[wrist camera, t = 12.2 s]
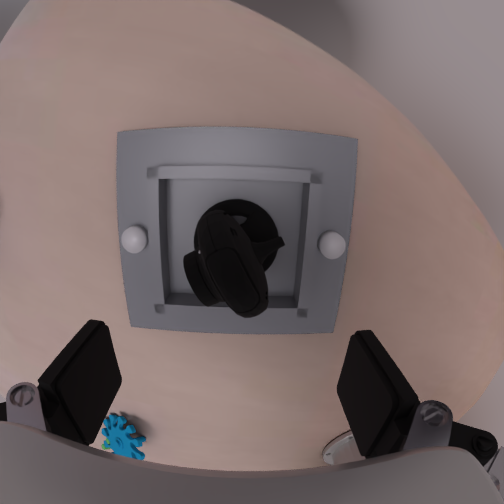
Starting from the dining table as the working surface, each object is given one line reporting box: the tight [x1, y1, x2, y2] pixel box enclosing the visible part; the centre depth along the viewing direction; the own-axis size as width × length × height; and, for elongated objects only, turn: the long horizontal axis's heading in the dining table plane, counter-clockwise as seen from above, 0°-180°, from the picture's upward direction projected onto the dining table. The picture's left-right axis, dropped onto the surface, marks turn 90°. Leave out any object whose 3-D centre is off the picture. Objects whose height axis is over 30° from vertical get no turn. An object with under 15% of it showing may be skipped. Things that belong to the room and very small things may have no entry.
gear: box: [102, 415, 146, 460], centre depth 33 cm, size 11×6×10 cm
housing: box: [116, 127, 358, 334], centre depth 24 cm, size 22×20×4 cm
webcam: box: [183, 199, 285, 318], centre depth 20 cm, size 8×8×10 cm
